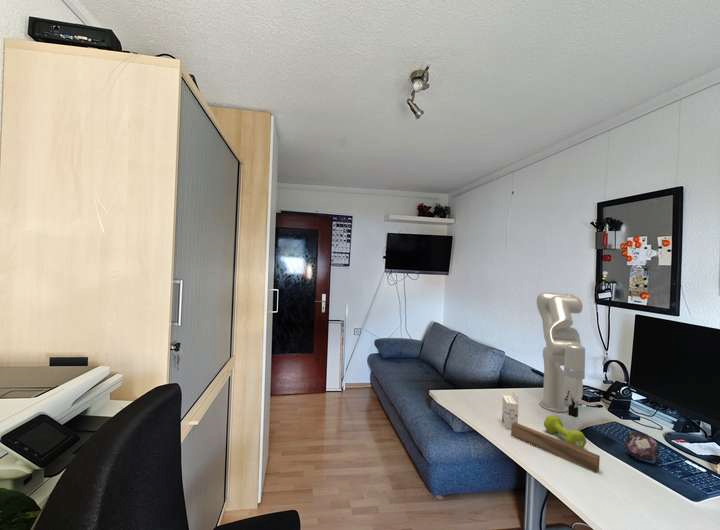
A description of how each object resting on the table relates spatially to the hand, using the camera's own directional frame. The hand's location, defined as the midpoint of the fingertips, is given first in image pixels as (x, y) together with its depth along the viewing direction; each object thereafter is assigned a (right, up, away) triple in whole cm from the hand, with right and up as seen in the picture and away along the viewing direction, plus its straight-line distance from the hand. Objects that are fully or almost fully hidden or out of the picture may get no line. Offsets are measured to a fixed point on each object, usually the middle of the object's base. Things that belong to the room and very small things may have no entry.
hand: (573, 415), depth 139 cm
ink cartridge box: (-25, -7, +6) cm, 27 cm away
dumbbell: (-7, -8, -5) cm, 12 cm away
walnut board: (-18, -7, -14) cm, 24 cm away
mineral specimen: (+15, -9, -17) cm, 24 cm away
